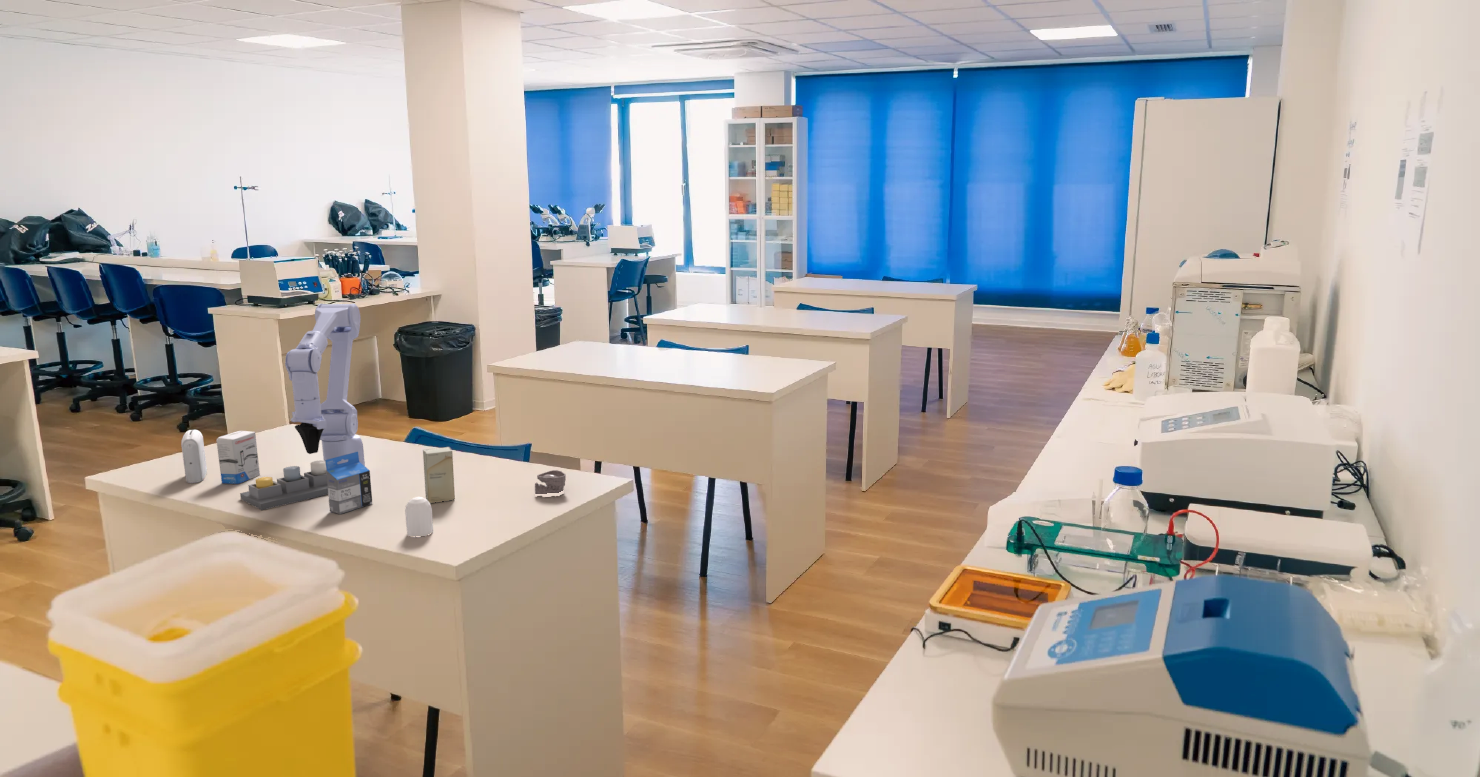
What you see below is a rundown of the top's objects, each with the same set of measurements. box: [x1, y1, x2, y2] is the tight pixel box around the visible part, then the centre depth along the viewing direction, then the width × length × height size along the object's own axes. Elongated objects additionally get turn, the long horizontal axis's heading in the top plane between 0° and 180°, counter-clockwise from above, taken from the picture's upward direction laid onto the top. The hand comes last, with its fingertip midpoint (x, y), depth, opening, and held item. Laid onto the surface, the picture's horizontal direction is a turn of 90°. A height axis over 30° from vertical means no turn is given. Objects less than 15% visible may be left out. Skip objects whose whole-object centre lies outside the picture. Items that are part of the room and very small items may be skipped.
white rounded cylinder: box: [404, 496, 434, 538], centre depth 203 cm, size 5×5×8 cm
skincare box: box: [422, 446, 456, 504], centre depth 224 cm, size 6×4×12 cm
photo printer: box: [180, 429, 208, 484], centre depth 242 cm, size 10×4×12 cm, turn 23°
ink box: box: [216, 430, 261, 485], centre depth 241 cm, size 9×5×12 cm, turn 168°
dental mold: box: [534, 469, 567, 495], centre depth 229 cm, size 8×7×5 cm
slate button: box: [282, 465, 302, 482], centre depth 228 cm, size 4×4×3 cm
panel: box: [239, 471, 328, 511], centre depth 229 cm, size 20×12×4 cm, turn 138°
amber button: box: [255, 476, 274, 489], centre depth 224 cm, size 4×4×3 cm
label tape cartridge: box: [325, 451, 373, 515], centre depth 218 cm, size 9×4×12 cm, turn 148°
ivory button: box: [309, 460, 327, 476], centre depth 233 cm, size 4×4×3 cm
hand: (312, 452), depth 232 cm, fingers closed
